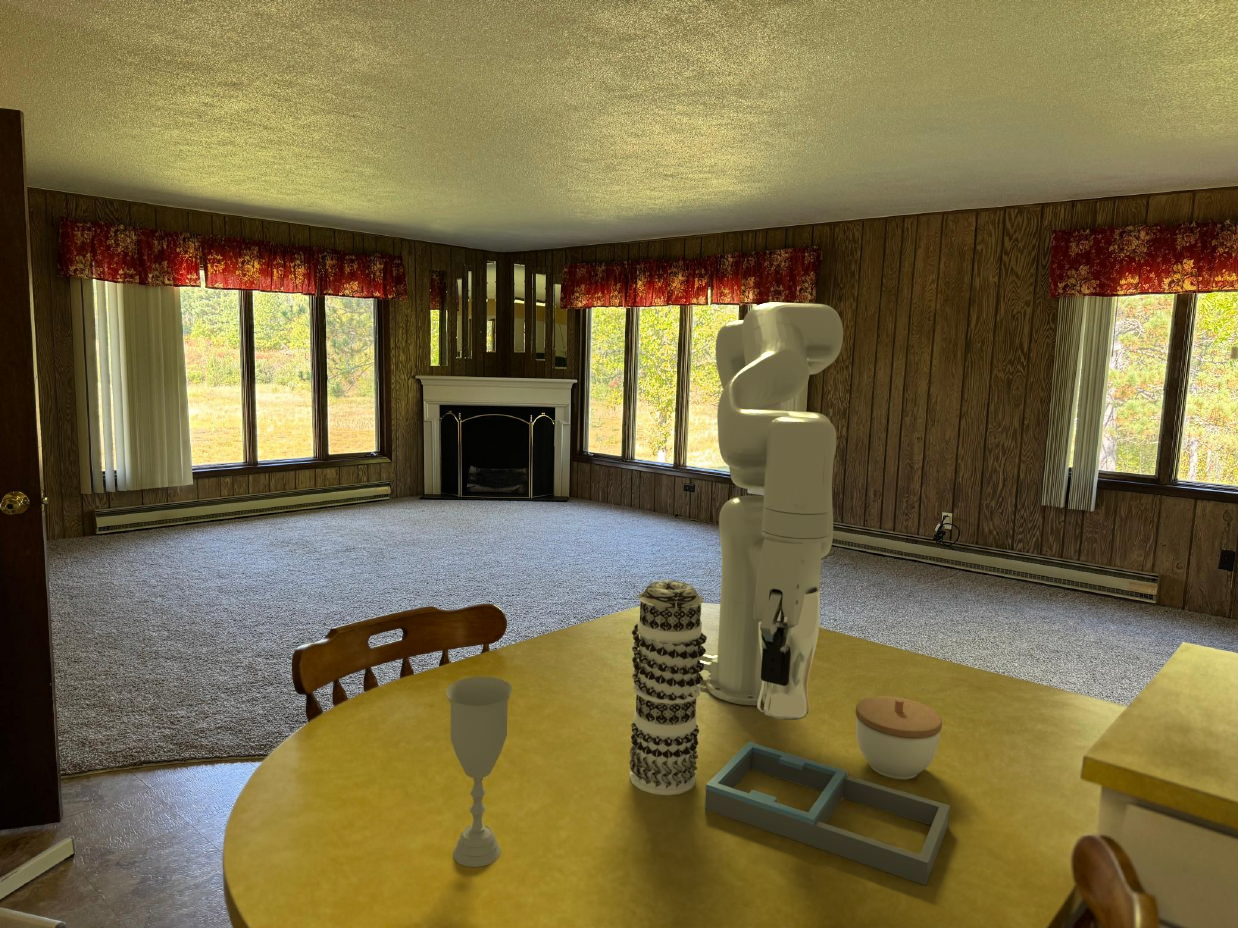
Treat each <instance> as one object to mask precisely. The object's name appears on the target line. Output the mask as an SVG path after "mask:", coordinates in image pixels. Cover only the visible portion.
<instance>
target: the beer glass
mask: <svg viewBox="0 0 1238 928" xmlns="http://www.w3.org/2000/svg"><path fill="white" fill-rule="evenodd" d="M820 591H821V588H820V589H819V587H817V586H816V592H814V593H809V594H805V595H804V601H803V606H802V610H801V615H800V618H799V622H798V625H797V626H795V627H793V628H791V635H790V642H789V647H788V651H791V659H790V674H789V683H788V684H787V685H786V686H782V685H778V684H774V683H770V682H766V681H763V680H762V685H761V690H760V694H759V698H758V702H757V705H756V706H757V710H759V712H761V714H764V715H766V716H767V717H771V718H774V719H777V720H783V721H795V720H801V719H804V718H806V717H807V716H809V713H810V703H809V701H810V700H809V693H808V686H809V685H808V682H809V677H810V676H809V675H810V671H811V667H812V664H813V660H814V655H815V651H816V648H817V643H818V638H819V634H820V633H819V631H820V621H821V620H820V619H821V618H820V617H821V615H820V614H821V612H820V611H821V604H820V603H821V602H820V601H821V600H820V593H821V592H820ZM777 622H780V623H784V624H785V623H786V622H787V617H785V616H784V613H783V610H782V608H781V611H780V613H779V616H778V619H777ZM760 624H761V622H759V643H760V653H761V661H762V649H763V648H762V641H763V639H762V633H761V630H760ZM776 632H778V633H780V636H781V638H783V633H784V629H780V628H776Z"/></svg>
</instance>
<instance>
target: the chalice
mask: <svg viewBox="0 0 1238 928" xmlns="http://www.w3.org/2000/svg"><path fill="white" fill-rule="evenodd" d="M445 693H446V694H445V695H446V698H447V699H448V701H449V703H450V742H451V744H452V748H453V750H454V753H455V756H456V758H457V760H458V762H459V764H460V766H461V768H462V769H463V770H462V771H464V773H465V775H466V776H467V777H469V778H471V779H473V786H472V790H471V791H470V793H469V794H470V795H471V797H472V802H473V803H472V806H471V807H469V813H470V814H471V815H472V819H473V820H472V824H471V825H469V826H466V827H465V829H464V830H463V831H462V832H461V833H460V835H459V838H458V840H457V842H456V845H455V847H454V850H453V851H452V858H453V859H454V861H455V862H457V863H458V864H460V865H461V866H464V867H469V868H470V867H471V868H479V867H484V866H488V865H490V864H492V863H494V862H495V861H497V859H498V858H500V856H501V852H502V849H501V848H502V847H501V846H500V845H499V843H498V839H497V837H496V836H495V835H496V834H495V832H494V831H493V830H492V828H491V827H489V826H488V825H486V824H484V823H483V820H482V819H483V815H484V813H485V812H486V811H487V808H486V806H485V805H484V804H483V798H484V796H485V795H486V790H485V789H484V786H483V780H484V778H486V777H488V776H489V775H490V774H491V773H492V771H493V768H495V765H496V763H497V761H498V759H499V757H500V755H501V753H502V750H503V747H504V744H505V742H506V738H507V736H508V709H509V707H508V704H509V699H510V697H511V695H512V693H513V687H512V685H511V683H509V682H508V681H505V680H504V679H501V678H498V677H491V676H472V677H467V678H462V679H460V680H456V681H455V682H453V683H451V684H450V685H449V686H448V687H447V688H446V691H445Z"/></svg>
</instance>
